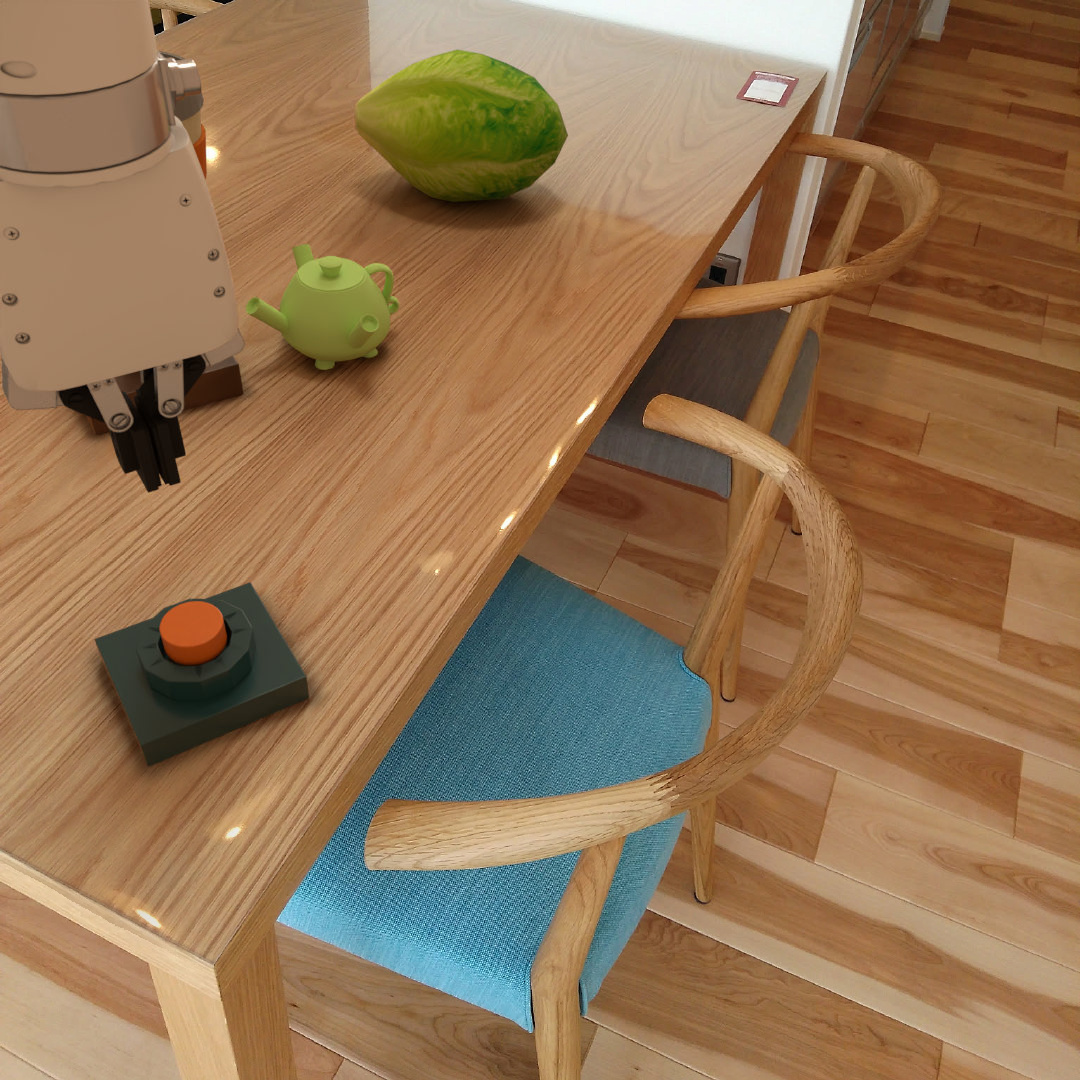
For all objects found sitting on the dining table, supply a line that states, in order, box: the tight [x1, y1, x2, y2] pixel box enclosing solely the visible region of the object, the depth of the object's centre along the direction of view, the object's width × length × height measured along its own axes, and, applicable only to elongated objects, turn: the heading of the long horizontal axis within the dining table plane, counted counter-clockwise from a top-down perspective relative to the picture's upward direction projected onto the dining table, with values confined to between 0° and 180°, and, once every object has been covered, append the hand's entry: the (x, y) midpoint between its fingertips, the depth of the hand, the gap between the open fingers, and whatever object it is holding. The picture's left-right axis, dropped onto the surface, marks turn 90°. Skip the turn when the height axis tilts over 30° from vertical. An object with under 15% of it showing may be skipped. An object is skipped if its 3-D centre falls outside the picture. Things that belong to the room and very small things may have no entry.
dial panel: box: [85, 356, 244, 435], centre depth 84 cm, size 12×10×3 cm
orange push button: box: [160, 601, 227, 665], centre depth 60 cm, size 4×4×2 cm
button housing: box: [94, 581, 310, 768], centre depth 62 cm, size 10×9×4 cm
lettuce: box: [353, 49, 569, 203], centre depth 109 cm, size 15×23×16 cm
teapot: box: [245, 243, 400, 371], centre depth 88 cm, size 11×12×8 cm
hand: (155, 471), depth 52 cm, fingers closed
